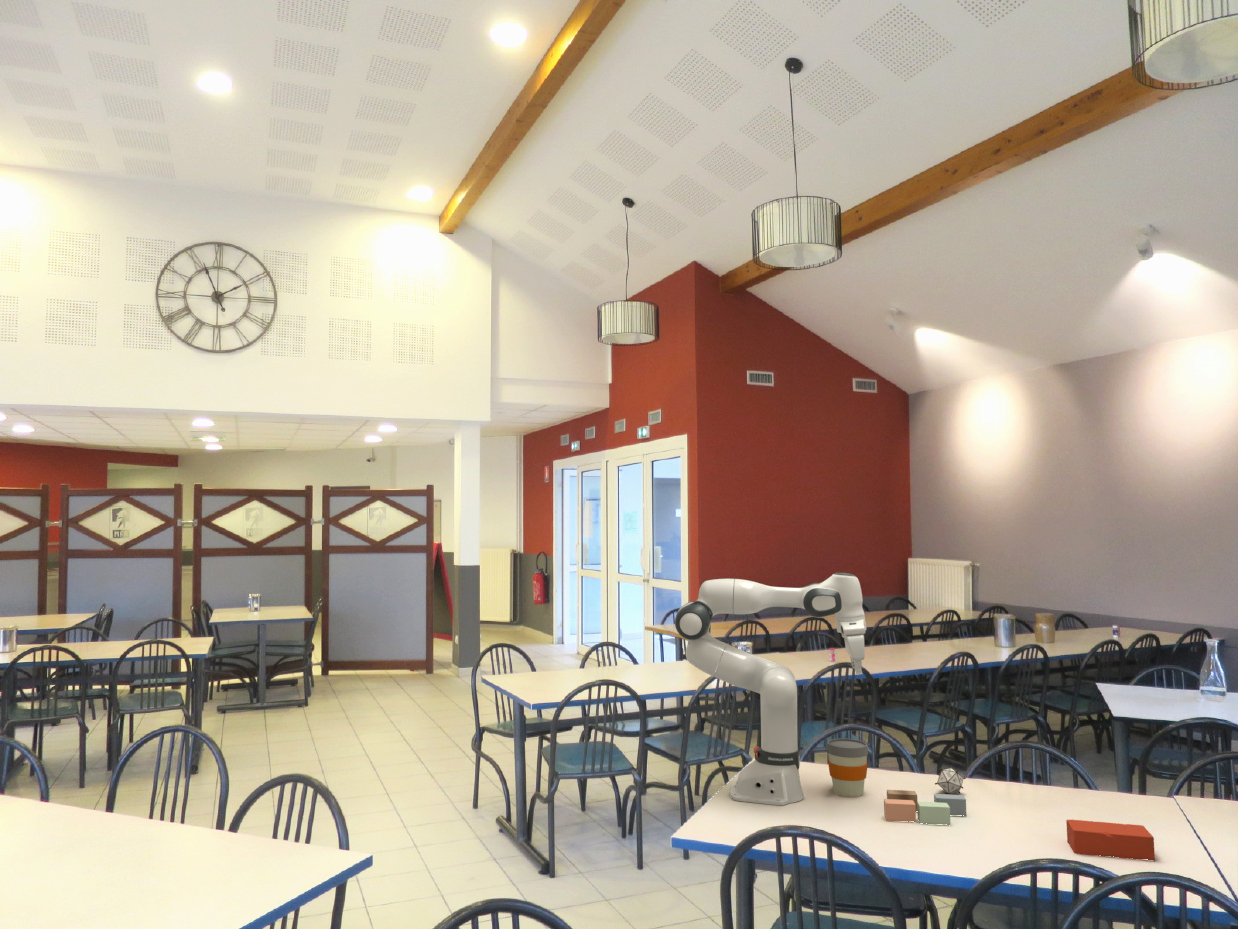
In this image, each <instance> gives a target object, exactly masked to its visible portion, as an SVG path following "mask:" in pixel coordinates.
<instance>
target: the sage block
mask: <svg viewBox="0 0 1238 929" xmlns="http://www.w3.org/2000/svg"><path fill="white" fill-rule="evenodd" d="M917 810H918V812H917V821H918V820H919V821H920V822H919V821H918V822H919V824H920V823H923V824H922V825H928V824H947V825H946V826H949V825H951V816H950V807H949V805H948V804H947V803H938V802H934V801H917ZM926 823H927V824H926Z"/></svg>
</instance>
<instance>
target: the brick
mask: <svg viewBox="0 0 1238 929" xmlns="http://www.w3.org/2000/svg"><path fill="white" fill-rule="evenodd" d="M1066 837H1067V840H1066V841H1067V844H1068V845H1069V846H1070V848H1071V850H1072V852H1073V853H1074V854H1076V855H1085V856H1094V855H1098V856H1097V857H1105V856H1111V857H1110V858H1115V857H1119V858H1118V859H1126V858H1129V859H1128V860H1131V859H1130V858H1133V859H1132V860H1136V859H1148V860H1156V858H1155V857H1156V856H1155V838H1154V836H1153V835H1152V834H1151V833H1150V832H1149V831H1148V829H1147V828H1146V827H1145V826H1144V825H1140V824H1133V823H1132V824H1131V823H1128V824H1127V823H1125V824H1124V823H1115V822H1104V821H1092V820H1084V819H1083V820H1082V819H1066ZM1099 855H1101V856H1099ZM1113 856H1114V857H1113Z"/></svg>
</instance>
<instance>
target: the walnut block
mask: <svg viewBox="0 0 1238 929" xmlns="http://www.w3.org/2000/svg"><path fill="white" fill-rule="evenodd" d="M886 799H896V800H913V801H914V803H915V807H916V811H918V810H917V802H918V794H917V791H915V790H904V789H903V790H902V789H901V790H900V789H886Z"/></svg>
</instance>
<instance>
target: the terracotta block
mask: <svg viewBox="0 0 1238 929" xmlns="http://www.w3.org/2000/svg"><path fill="white" fill-rule="evenodd" d="M916 813H917V812H916V807H915V803H914V801H913V800H896V799H887V798H884V799H883V815H884V819H885V821H886V822H893V821H908V822H907V823H910V822H909V821H914V822H916V823H917V815H916Z"/></svg>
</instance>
